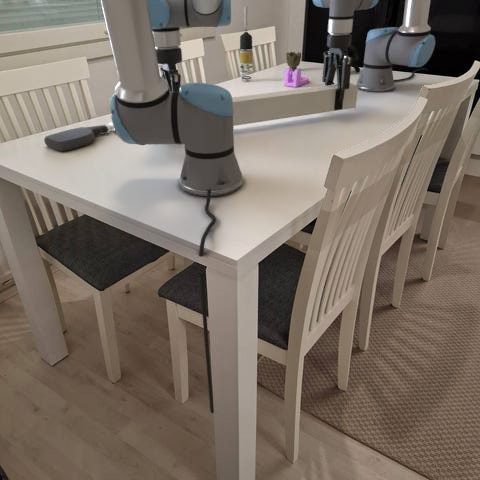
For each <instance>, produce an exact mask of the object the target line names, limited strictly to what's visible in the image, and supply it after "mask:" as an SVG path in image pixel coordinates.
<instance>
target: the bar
mask: <svg viewBox="0 0 480 480" xmlns="http://www.w3.org/2000/svg"><path fill="white" fill-rule="evenodd" d="M336 89H338V85H337V83H336V84H332V85H327V86H326V85H321V86H312V87H304V88H297V89H296V88H295V89H288V90H280V91H272V92H264V93H256V94H248V95H241V96H232V103H233V110H234V115H233V127H236V126H241V125H249V124H255V123H262V122H268V121H269V122H270V121H276V120H283V119H290V118H297V117H303V116H310V115H316V114H323V113H324V114H325V113H330V112H337V111H338V110H334V107H335V95H336ZM358 90H359V89H358V86H357V84H354V83H351V82H350V86H349V89H346V90H345V91H344V99H343V107H342V109H340V110H339V111H344V110H351V109H356V108H357V102H358V101H357V99H358V92H359V91H358Z"/></svg>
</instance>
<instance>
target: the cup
mask: <svg viewBox="0 0 480 480" xmlns="http://www.w3.org/2000/svg"><path fill="white" fill-rule="evenodd" d="M285 59H286V65H287V66H288V68H292V70H293V72H294V71H295V70H296V69H298V68H297V67H299V66H300V64H301V59H302V52H299V51H298V52H297V53H296V52H295V51H294V52H293V51H290V52H286V57H285Z"/></svg>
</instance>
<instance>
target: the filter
mask: <svg viewBox="0 0 480 480" xmlns="http://www.w3.org/2000/svg"><path fill="white" fill-rule="evenodd" d="M248 9H249V7H248V6H243V14H244V15H243V16H244V22H243V23H244V24H243V25H244V28H245V29H248ZM239 50H240V51H239V56H240V59H239V61H240V65H241V66H240V68H241V69H244V66H245V67H248V69H251V68H253V65H252V64H253V35H251V34H250V33H249V32H248V31H244V32H243V33H242V34H241V35H240V36H239ZM248 65H249V66H248ZM239 74H240V75H244V76H241V79H243V80H244V81H245V82H248V81H249V80H252V77H251V76H250V75H252V74H253V70H240V71H239Z"/></svg>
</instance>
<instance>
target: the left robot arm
mask: <svg viewBox="0 0 480 480" xmlns="http://www.w3.org/2000/svg"><path fill="white" fill-rule="evenodd" d="M100 4H101V8H102V12H103V16H104V20H105V25H106V29H107V33H108V37H109V42H110V45H111V50H112V54H113V58H114V59H113V60H114V63H115V68H116V71H117V76H118V81H119V82H118V83H117V85H116V86H115V88H114V93H113V94H111V97H110V100H109V110H110V113H111V115H110V118H111V122H112V123H113V125H114V128H115V132H116V135H117V136H118V137H119V139H120V140H121V141H122V142H124V143H126V144H128V145H139V146H146V145H184V154H185V155H184V158H183V164H182V168H181V171H180V177H179V178H180V179H179V183H180V184H179V185H180V188H181V189H182V191H184V192H186V193H187V194H190V195H194V196H199V197H206V202H205V205H204V212H205V214H206V215H207V216H208V217H209V218H211V221H210V222H209V224H208V225H207V227H206V228H205V231H204V232H203V234H202V236H201V239H200V243H199V248H198V249H199V250H198V251H199V252H198V257H201V258H202V257H204V251H205V242H206V239H207V237H208V234H209V233H210V231H211V230H212V228H213V226H215V224H216V222H217V218H216V216H215V214H213V213H211V211H210V209H209V208H210V203H211V197H221V196H224V195H229V194H232V193H234V192H235V191H237V190H239V189H240V188H241V187H242V185H243V174H242V171H241V168H240V165H239V163H238V160H237V157H236V154H235V138H234V137H235V135H234V134H235V133H234V126H233V115H234V110H233V103H232V97H233V96H232V94H231V92H230V91H229V90H227V89H226V88H224V87H222V86H220V85H216V84H212V83H205V82H186V83H183V84H182V83H181V81H182V75H181V74H180V73H179V70H178V69H177V64H180V63H182V62H183V54H182V53H183V51H182V48H181V47H180V46H181V45H182V42H181V38H182V37H183V34H182V33H181V31H180V28H218V27H219V28H221V27H227V26H228V27H229V26H230V25H231V23H232V0H100ZM159 65H162V67H159ZM199 281H200V295H201V297H200V298H201V314H202V324H203V325H202V326H203V336H204V337H203V339H204V351H205V360H206V361H205V362H206V374H207V386H208V397H209V398H208V399H209V411H210V413H211V414H214V412H215V409H214V397H213V395H214V394H213V382H212V380H213V379H212V370H211V369H212V368H211V356H210V355H211V354H210V344H209V342H210V341H209V333H208V332H209V330H208V329H209V328H208V317H207V316H208V315H207V300H206V280H205V274H204V273H199Z"/></svg>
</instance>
